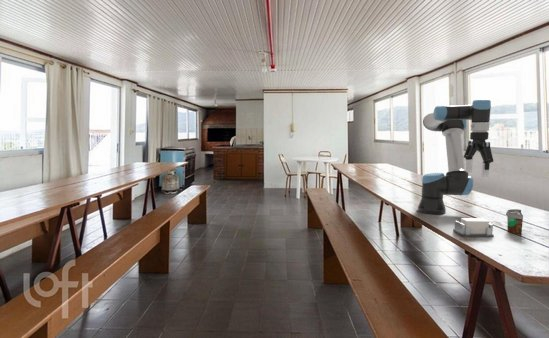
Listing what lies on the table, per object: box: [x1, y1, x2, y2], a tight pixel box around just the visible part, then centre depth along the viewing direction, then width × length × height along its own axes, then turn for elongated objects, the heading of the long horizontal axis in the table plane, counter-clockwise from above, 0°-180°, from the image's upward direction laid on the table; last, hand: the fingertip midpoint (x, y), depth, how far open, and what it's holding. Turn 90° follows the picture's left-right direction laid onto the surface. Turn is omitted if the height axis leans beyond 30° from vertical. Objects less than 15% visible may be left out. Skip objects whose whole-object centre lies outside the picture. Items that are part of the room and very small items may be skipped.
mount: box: [452, 220, 495, 238], centre depth 148 cm, size 14×9×6 cm, turn 88°
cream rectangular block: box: [460, 217, 490, 234], centre depth 148 cm, size 10×5×6 cm, turn 85°
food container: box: [505, 208, 524, 236], centre depth 150 cm, size 12×6×10 cm, turn 145°
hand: (476, 174), depth 156 cm, fingers open, 13 cm apart
